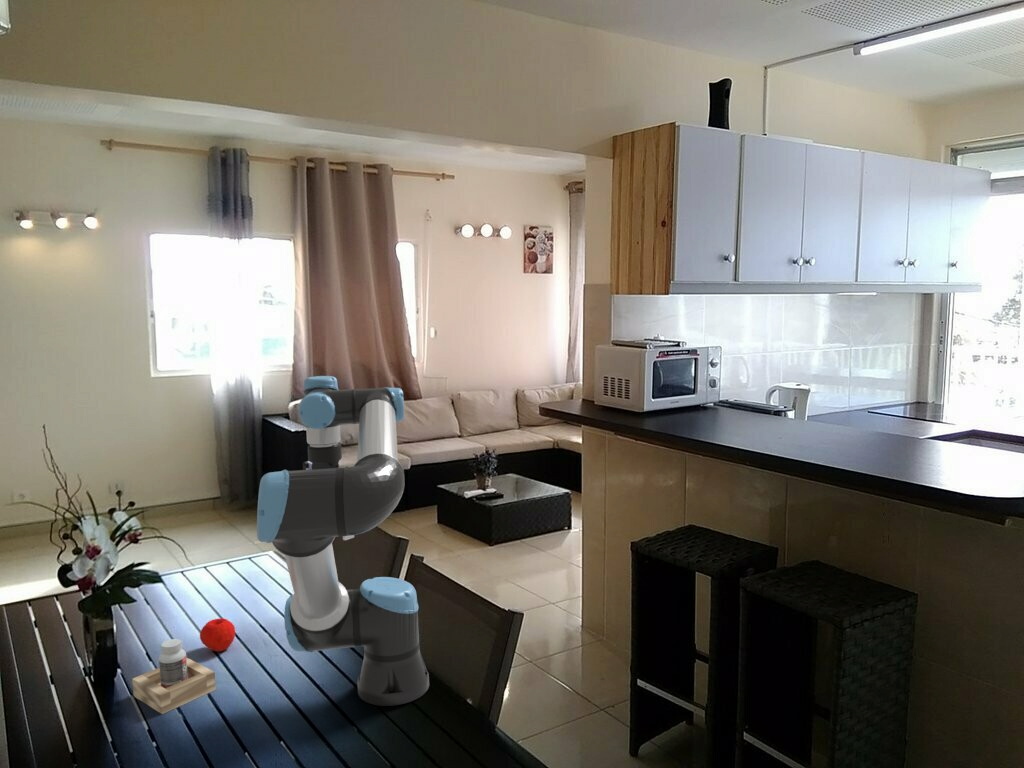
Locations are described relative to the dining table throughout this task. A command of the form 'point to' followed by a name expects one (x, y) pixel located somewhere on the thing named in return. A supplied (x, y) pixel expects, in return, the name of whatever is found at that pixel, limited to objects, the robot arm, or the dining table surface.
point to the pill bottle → (172, 663)
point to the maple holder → (173, 687)
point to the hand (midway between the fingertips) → (329, 533)
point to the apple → (218, 634)
